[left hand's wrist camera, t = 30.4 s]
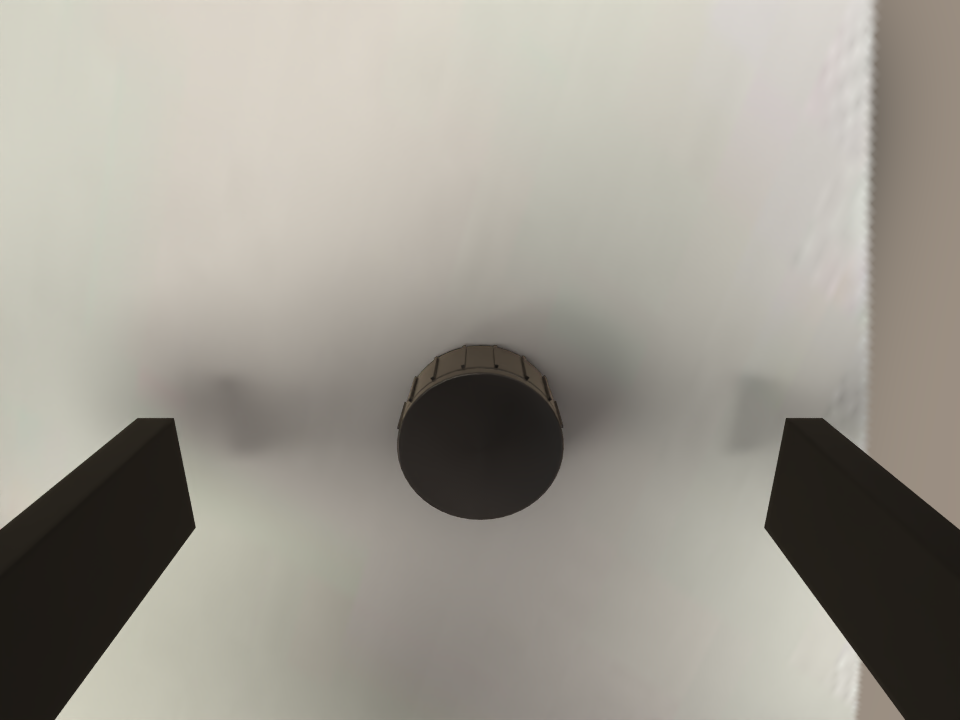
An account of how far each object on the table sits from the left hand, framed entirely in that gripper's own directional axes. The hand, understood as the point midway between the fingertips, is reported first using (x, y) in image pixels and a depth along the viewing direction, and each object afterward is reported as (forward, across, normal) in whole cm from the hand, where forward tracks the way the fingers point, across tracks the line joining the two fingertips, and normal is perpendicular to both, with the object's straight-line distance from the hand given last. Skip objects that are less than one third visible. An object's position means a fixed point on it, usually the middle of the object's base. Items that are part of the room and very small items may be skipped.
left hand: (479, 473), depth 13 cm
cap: (+1, 0, 0) cm, 1 cm away
